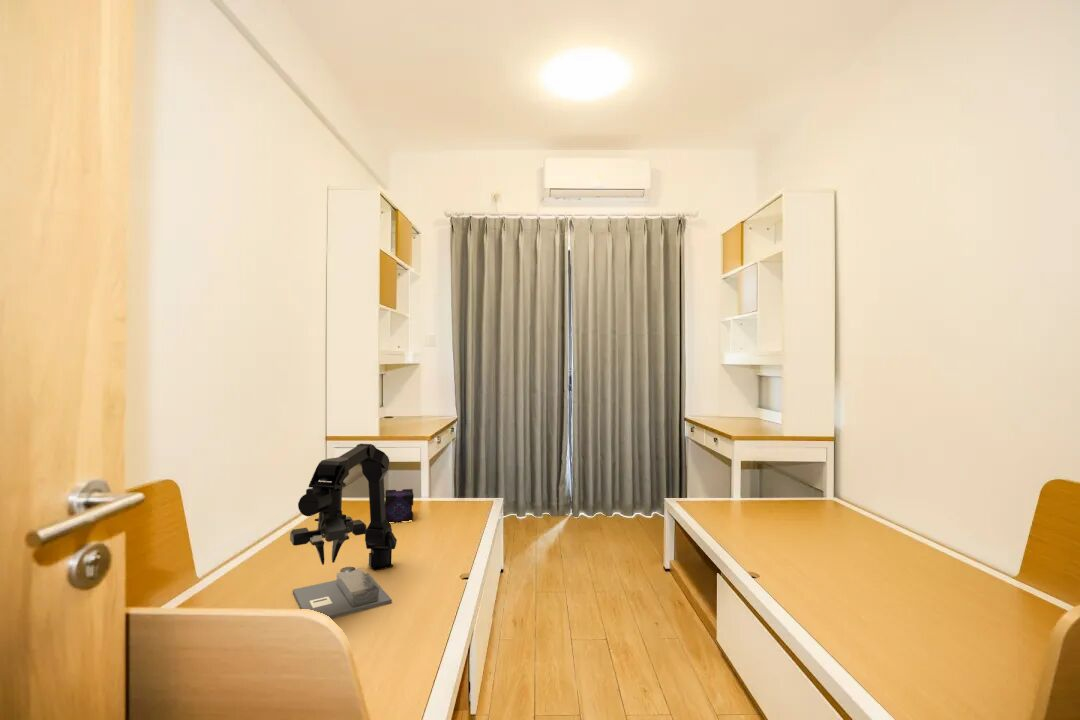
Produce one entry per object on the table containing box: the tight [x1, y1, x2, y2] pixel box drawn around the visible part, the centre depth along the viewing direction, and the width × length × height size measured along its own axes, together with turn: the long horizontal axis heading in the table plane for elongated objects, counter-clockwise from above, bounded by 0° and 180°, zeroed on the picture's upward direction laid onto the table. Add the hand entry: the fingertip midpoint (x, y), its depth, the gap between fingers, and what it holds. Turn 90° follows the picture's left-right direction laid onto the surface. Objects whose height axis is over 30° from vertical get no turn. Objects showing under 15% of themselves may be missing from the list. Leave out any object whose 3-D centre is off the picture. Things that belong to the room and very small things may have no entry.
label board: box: [292, 572, 393, 620], centre depth 139 cm, size 22×22×1 cm
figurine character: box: [314, 513, 352, 538], centre depth 196 cm, size 7×8×15 cm
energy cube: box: [384, 488, 414, 523], centre depth 217 cm, size 12×12×12 cm
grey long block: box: [336, 566, 379, 607], centre depth 142 cm, size 21×7×3 cm, turn 37°
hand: (327, 563), depth 132 cm, fingers open, 2 cm apart
